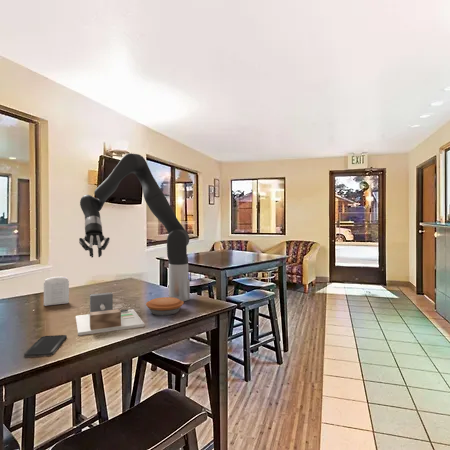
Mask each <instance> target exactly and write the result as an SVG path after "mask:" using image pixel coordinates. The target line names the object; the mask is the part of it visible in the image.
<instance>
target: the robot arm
mask: <svg viewBox="0 0 450 450" xmlns="http://www.w3.org/2000/svg"><path fill="white" fill-rule="evenodd" d="M130 174H134V175H135V176H136V177H137V179H138V181H139V183H140V185H141V188H142V195H143V199H144V201H145V203H146V205H147V207H148V209H149V210H150V211H151V213H152V214H153V215H154V217H155V218H156V219H157V220H158V221H159V222H160V223H161V224H162V225H163V226H164V228H165V229H166V231H167V234H168V235H167V238H166V255H167V260H168V297H173V298H177V299H179V300H181V301H183V302H187V301H190V297H191V296H190V295H191V294H190V292H191V289H190V287H191V286H190V285H191V284H190V283H191V280H190V279H189V257H188V254H187V252H188V251H187V249H188V248H187V246H188V245H189V243H190V235H189V233H188V231H187V230H186V229H185V228H184V227H183V225H182V224H181V222H180V221H179V220H178V218H177V216H176V214H175V212H174V210H173V208H172V206H171V205H170V202H169V201H168V199H167V197H166V196H165V194H164V192H163V190H162V189H161V187H160V186H159V183H158V182H157V181H156V179H155V177H154V175H153V174H152V172H151V169H150V167H149V164H148V163H147V161H146V159H145V158H144V157H143V155H141V154H139V153H132V152H131V153H129V152H128V153H126V154H124V156H122V157H121V159H120V160H119V162H118V163H117V165H116V166H115V167H114V168H113V170H112V171H111V173H110V174H109V175H108V177H106V178H105V180H104V181H103V182H101V184H99V185H98V187H96V189H94V193H93V194H94V195H95V197H94V196H92V195H90V194H84V195H82V197H81V198H80V201H79V206H80V208H81V211H82V213H83V215H84V235H85V236H84V238H82V237H79V241H78V242H79V245H80V246H81V247H82V248H83V250H84V251H89V257H91V258H94V249H93V246H96V247H97V256H98V258H101V257H102V255H103V251H105V250H106V248H107V247H108V245H109V243H110V237H105V236H104V234H103V224H102V220H101V213H100V212H101V210H103V209H102V208H103V206H104V204H105V203H106V201H107V200H108V199H109V197H111V196H112V195H113V194H114V193H115V192H116V191H117V189H118V187H119V185H120V183H121V182H122V180H124V178H126V177H127V176H129V175H130ZM103 241H104V242H103ZM102 242H103V244H101V243H102Z"/></svg>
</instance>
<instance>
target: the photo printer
mask: <svg viewBox="0 0 450 450" xmlns="http://www.w3.org/2000/svg"><path fill="white" fill-rule="evenodd" d="M69 297H70V280H69V278H68V277H66V276H61V275H59V276H51V277H48V278H45V279H44V282H43V306H46V307H47V306H55V305H63V304H69V302H70V301H69V300H70V298H69Z"/></svg>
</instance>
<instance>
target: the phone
mask: <svg viewBox="0 0 450 450" xmlns="http://www.w3.org/2000/svg"><path fill="white" fill-rule="evenodd" d="M67 337H68V336H67V335H66V334H59V335H58V334H57V335H43V336H41V337H40V338H38V340H37V341H35V343H33V345H31V346H30V347H29V348H28V349H27V350H26V351H25V352H24V353H23V356H24V357H25V358H32V357H33V358H34V357H35V358H36V357H38V358H39V357H51V356H53V355H55V353H57V350H58V349H59V348H61V346H62V344H64V342H65V341H66V339H67Z"/></svg>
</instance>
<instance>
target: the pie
mask: <svg viewBox="0 0 450 450" xmlns="http://www.w3.org/2000/svg"><path fill="white" fill-rule="evenodd" d="M184 304H185V301H181V300H179V299H177V298H173V297H169V296H167V297H166V296H165V297H156V298H152V299H150V300H149V301H147V302H146V303H145V306H146V308H148V310H149V312H150V313H151V314H153V315H154V316H155V315H156V316H170V315H174V314H178V312H179V311H180V310H181V308H182V306H183V305H184Z"/></svg>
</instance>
